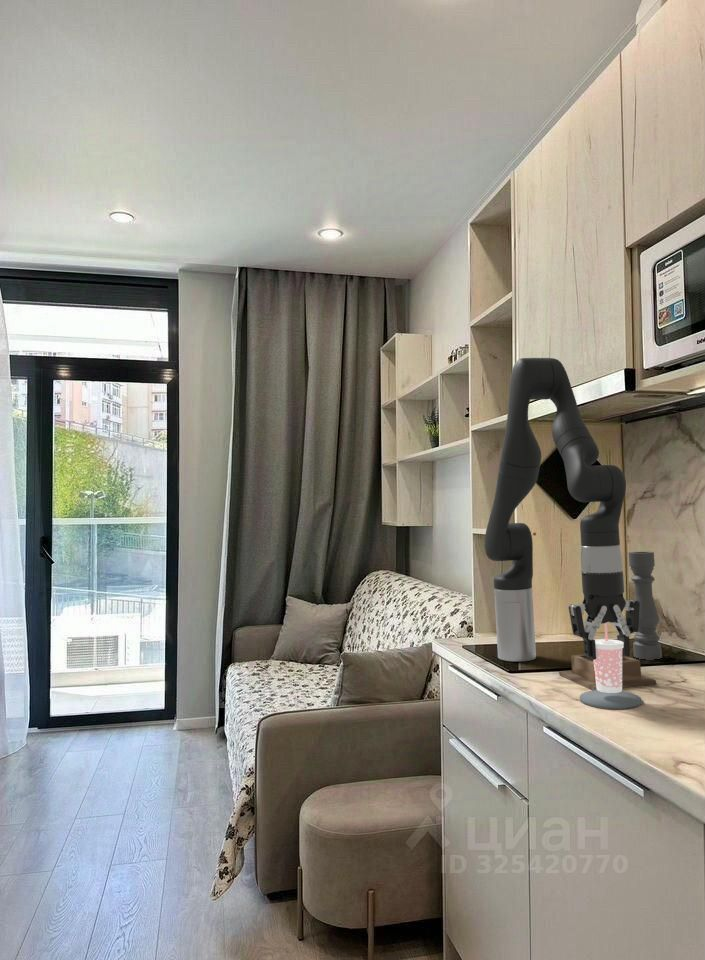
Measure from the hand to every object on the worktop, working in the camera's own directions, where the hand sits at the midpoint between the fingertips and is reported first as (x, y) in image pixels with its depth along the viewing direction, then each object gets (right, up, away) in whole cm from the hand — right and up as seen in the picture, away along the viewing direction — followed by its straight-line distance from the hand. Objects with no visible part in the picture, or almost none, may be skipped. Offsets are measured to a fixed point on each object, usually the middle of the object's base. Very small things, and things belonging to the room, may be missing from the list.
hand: (607, 656), depth 130 cm
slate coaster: (0, -8, 0) cm, 8 cm away
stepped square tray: (+5, -9, +15) cm, 18 cm away
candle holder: (+22, -9, +33) cm, 40 cm away
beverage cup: (0, -6, 0) cm, 6 cm away
